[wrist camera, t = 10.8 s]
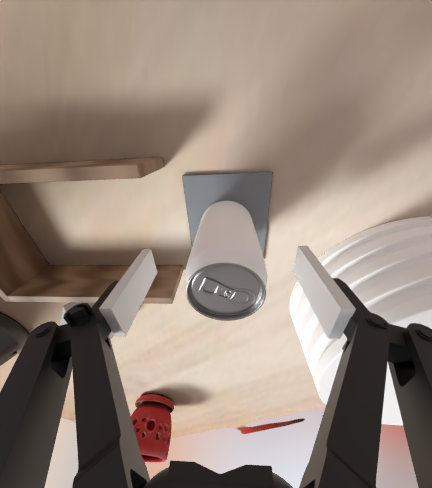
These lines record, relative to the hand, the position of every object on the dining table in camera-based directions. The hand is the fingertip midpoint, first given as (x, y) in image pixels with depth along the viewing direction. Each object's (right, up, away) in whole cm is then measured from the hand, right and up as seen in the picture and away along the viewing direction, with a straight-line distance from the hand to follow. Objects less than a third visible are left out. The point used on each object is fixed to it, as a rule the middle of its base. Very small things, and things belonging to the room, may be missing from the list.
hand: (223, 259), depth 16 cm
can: (+1, +4, +7) cm, 8 cm away
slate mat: (+1, +4, +7) cm, 8 cm away
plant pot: (-19, -47, +40) cm, 65 cm away
